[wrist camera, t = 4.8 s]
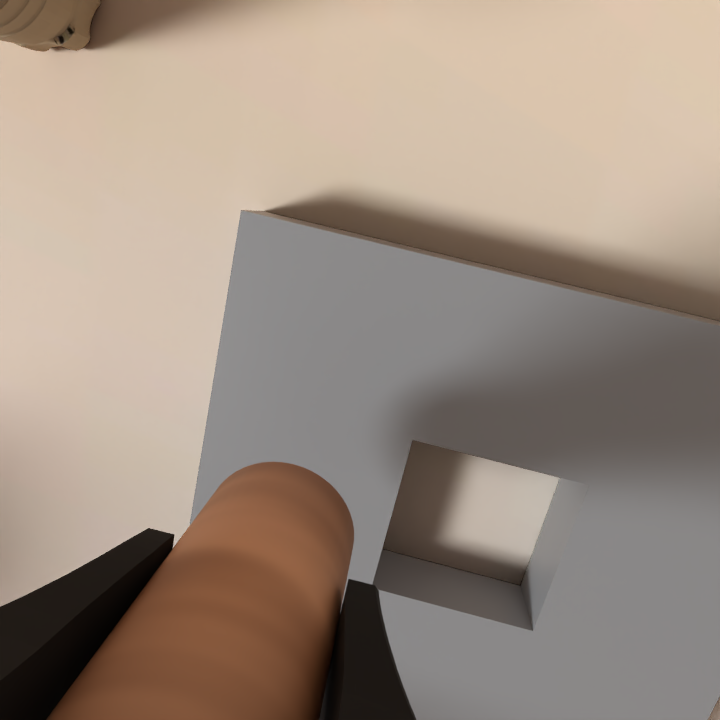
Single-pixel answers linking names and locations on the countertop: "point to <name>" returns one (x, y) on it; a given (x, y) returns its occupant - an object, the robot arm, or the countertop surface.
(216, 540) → the peg
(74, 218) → the countertop surface
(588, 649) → the socket plate
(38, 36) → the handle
